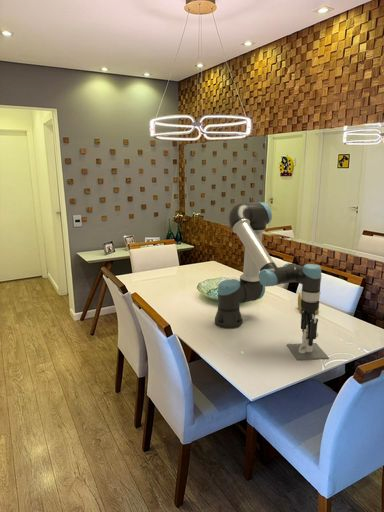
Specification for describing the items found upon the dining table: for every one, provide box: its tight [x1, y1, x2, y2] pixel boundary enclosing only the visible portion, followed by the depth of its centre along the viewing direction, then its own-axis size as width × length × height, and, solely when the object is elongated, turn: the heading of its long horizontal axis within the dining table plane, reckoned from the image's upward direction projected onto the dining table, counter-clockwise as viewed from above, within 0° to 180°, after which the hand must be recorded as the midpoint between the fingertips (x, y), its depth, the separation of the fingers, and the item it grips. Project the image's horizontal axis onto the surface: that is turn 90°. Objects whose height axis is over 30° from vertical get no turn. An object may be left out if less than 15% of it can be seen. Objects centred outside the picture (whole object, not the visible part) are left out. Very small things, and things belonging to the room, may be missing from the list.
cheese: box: [297, 292, 319, 316], centre depth 206 cm, size 10×11×10 cm
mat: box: [286, 342, 330, 361], centre depth 159 cm, size 14×14×1 cm
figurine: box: [299, 325, 319, 353], centre depth 158 cm, size 5×9×12 cm, turn 122°
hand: (307, 348), depth 159 cm, fingers closed on figurine, 4 cm apart
